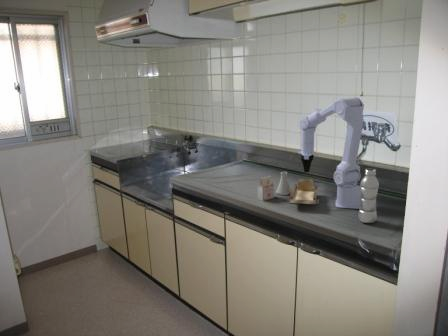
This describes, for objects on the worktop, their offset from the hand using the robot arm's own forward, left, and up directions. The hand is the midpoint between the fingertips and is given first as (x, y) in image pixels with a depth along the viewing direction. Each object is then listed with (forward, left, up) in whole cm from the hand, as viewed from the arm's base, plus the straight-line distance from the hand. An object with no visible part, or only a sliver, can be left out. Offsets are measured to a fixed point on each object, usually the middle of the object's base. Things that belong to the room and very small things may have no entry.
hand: (306, 171), depth 177 cm
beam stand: (0, +17, -9) cm, 19 cm away
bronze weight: (0, +10, -6) cm, 11 cm away
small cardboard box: (0, +17, -7) cm, 18 cm away
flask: (+10, +6, -10) cm, 15 cm away
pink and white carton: (+17, +15, -10) cm, 25 cm away
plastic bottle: (-24, +35, -10) cm, 44 cm away
